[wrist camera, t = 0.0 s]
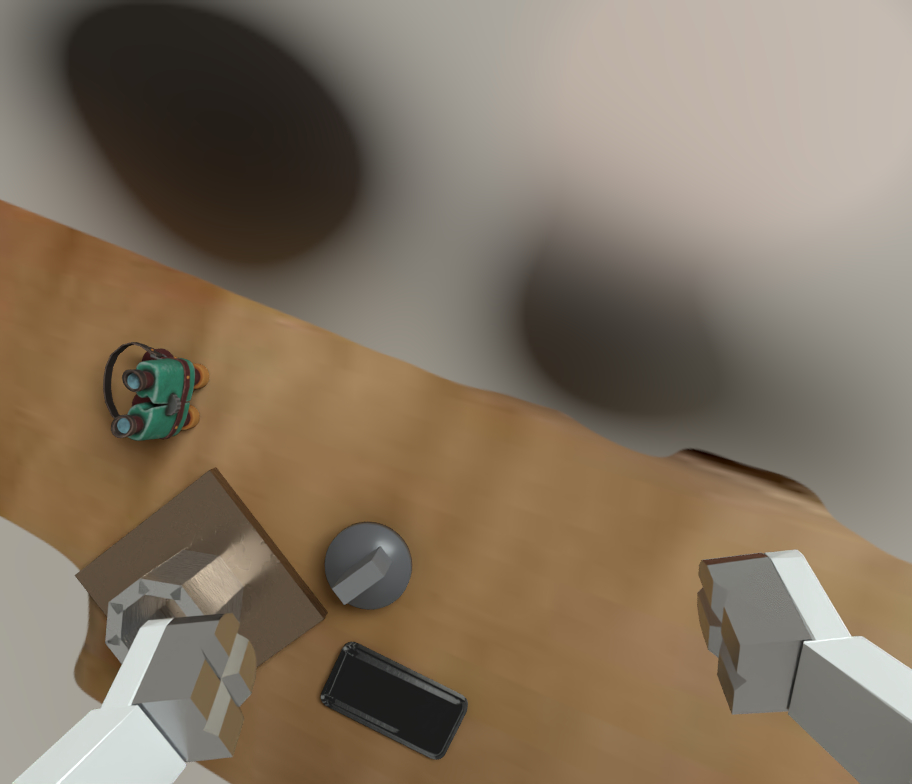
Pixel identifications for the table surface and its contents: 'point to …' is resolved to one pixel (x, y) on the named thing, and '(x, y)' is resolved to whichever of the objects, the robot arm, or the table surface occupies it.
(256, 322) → the table surface
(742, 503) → the table surface
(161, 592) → the square base plate
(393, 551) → the grey dial knob
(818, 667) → the robot arm
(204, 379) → the binoculars
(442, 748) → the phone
